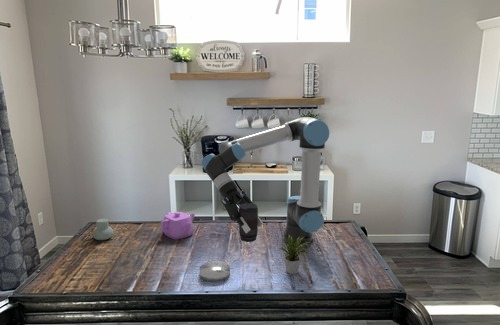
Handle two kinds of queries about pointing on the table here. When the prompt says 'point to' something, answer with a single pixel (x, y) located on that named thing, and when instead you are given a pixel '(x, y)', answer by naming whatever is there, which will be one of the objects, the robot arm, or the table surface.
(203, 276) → the cap plate
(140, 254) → the table surface
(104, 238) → the air freshener
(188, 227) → the teakettle
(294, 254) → the house plant
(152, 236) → the table surface
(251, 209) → the camera lens
